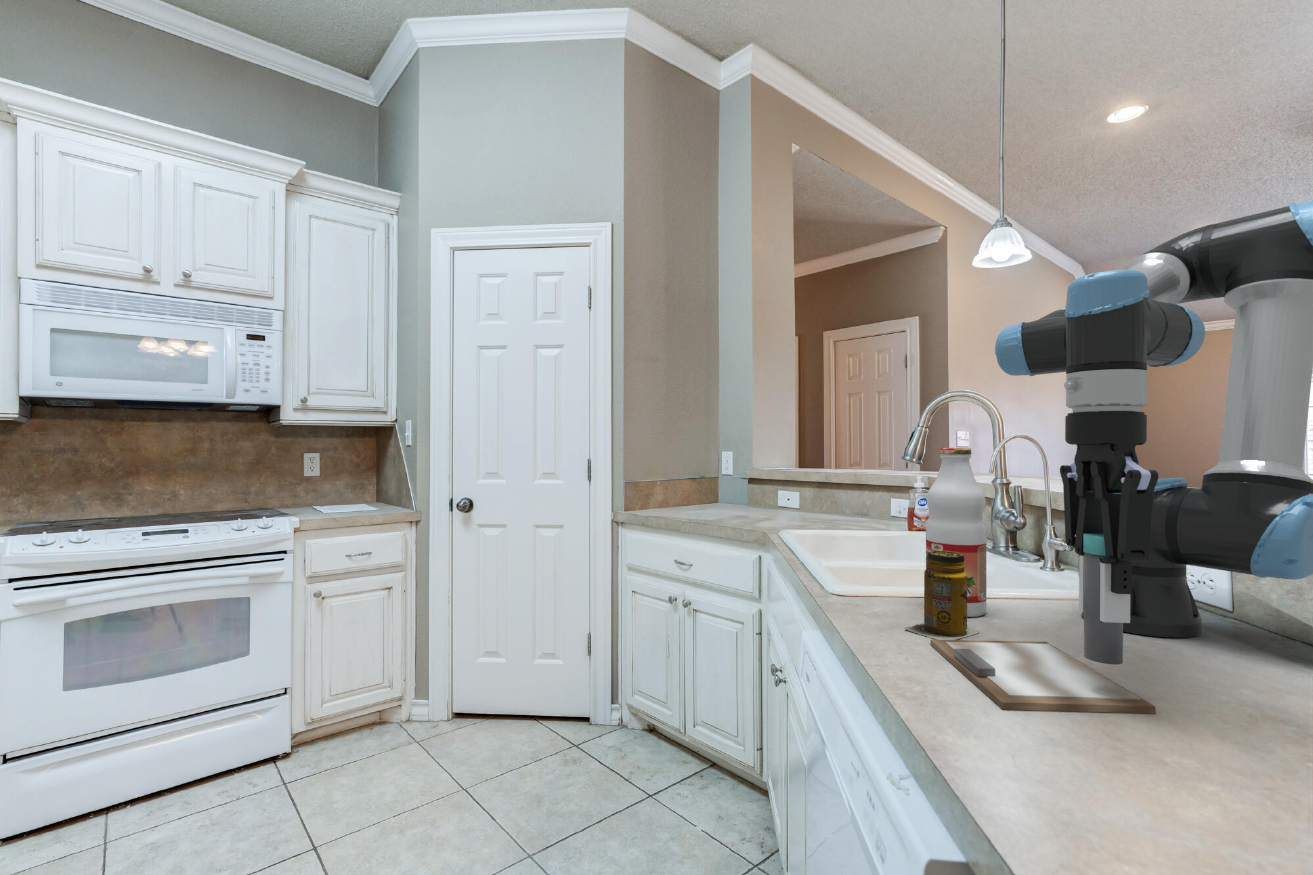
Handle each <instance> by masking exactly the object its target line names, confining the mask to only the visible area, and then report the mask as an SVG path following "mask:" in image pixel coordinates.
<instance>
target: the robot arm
mask: <svg viewBox="0 0 1313 875" xmlns="http://www.w3.org/2000/svg"><path fill="white" fill-rule="evenodd" d="M1220 298H1223V301H1224V302H1223V303H1225V305H1227V306H1228V307H1230V308H1231V309H1232V310H1234V311H1235V316H1234V324H1233V332H1232V333H1233V334H1232V342H1231V352H1230V360H1229V368H1228V376H1227V377H1228V378H1227V385H1226V395H1225V402H1224V403H1225V404H1224V412H1223V419H1222V420H1223V421H1222V429H1221V437H1220V447H1219V455H1218V462H1217V464H1216V465H1215V466H1214V467H1212V468H1209V469H1208V470H1207V471H1205V472H1204V473H1203V475H1202V483H1201V487H1189V483H1188V482H1187V479H1186V478H1185V477H1170V478H1169V477H1167V478H1166V477H1165V478H1159V473H1158V471H1157V470H1155V469H1154V470H1153V469H1145V468H1143V467H1142V466H1140V465H1139V458H1138V455H1137V452H1136V447H1137V446H1142V445H1145V444H1146V442H1147V440H1148V437H1147V436H1148V434H1147V433H1148V430H1147V429H1148V414H1145V411H1141V408H1143V407H1146V406H1147V405H1149V404H1148V403H1149V402H1148V396H1149V395H1148V367H1149V366H1150V367H1152V368H1160V367H1170V366H1176V365H1180V364H1182V363H1185V362H1187V361H1188V360H1190V359H1191V358H1192V357H1194V356H1195V355H1196V354H1197V353H1198V352H1199V350H1200V349H1201V347H1202V345H1203V344H1204V342H1205V337H1206V328H1205V324H1204V321H1203V320H1202V318H1201V317H1200V315H1198V314H1197V313H1196V312H1194V311H1193V310H1191V309H1189V308H1186V307H1185V306H1183V305H1181V304H1184V303H1185V304H1186V303H1190V302H1195V301H1196V302H1197V301H1204V300H1211V299H1212V300H1213V299H1220ZM994 346H995V348H994V354H995V356H996V360H997V364H998V366H999V368H1000V369H1001V370H1002V371H1003V372H1004V373H1005V374H1007V375H1010V376H1013V377H1014V376H1015V377H1019V376H1030V377H1034V376H1038V375H1039V376H1040V375H1049V374H1050V375H1051V374H1058V373H1065V375H1066V379H1065V380H1066V381H1065V382H1064V388H1065V407H1066V408H1068V409H1071V410H1072V412H1069V413H1067V415H1065V417H1064V418H1065V421H1064V422H1065V426H1064V427H1065V428H1064V434H1065V436H1064V440H1065V442H1066V443H1067V444H1068V445H1076V452H1075V455H1074V458H1073V459H1074V461H1073V463H1072V464H1070V465H1068V464H1067V465H1066V464H1065V465H1064V464H1063V465H1062V464H1061V466H1060V467H1059V474H1060V477H1061V478H1060V479H1061V481H1062V489H1063V509H1064V510H1063V511H1064V512H1063V513H1064V532H1065V544H1066V545H1067V547H1073V548H1074V552H1075V553H1076V554H1077V555H1078V612H1081V617H1082V618H1083V619H1084V552H1083V534H1085V533H1100V534H1104V542H1105V553H1106V558H1099V560H1100V621H1103V622H1112V623H1123V633H1124V632H1125V633H1131V634H1134V635H1135V634H1136V635H1143V636H1150V637H1160V638H1161V637H1162V638H1191V637H1197V636H1199V635H1202V633H1203V632H1202V631H1203V630H1202V628H1203V627H1202V623H1203V622H1202V616H1201V613H1200V612H1199V609H1198V606H1197V603H1196V601H1195V598H1194V595H1193V594H1192V591H1191V588H1190V586H1189V584H1188V578H1187V566H1191V567H1197V568H1199V567H1200V568H1206V569H1212V570H1218V571H1225V572H1231V573H1238V574H1244V575H1252V576H1255V577H1257V578H1261V579H1263V578H1264V579H1265V578H1274V579H1275V578H1276V579H1282V580H1294V581H1295V580H1297V581H1298V580H1303V579H1305V578H1308V577H1310V576H1311V575H1312V574H1313V478H1312V477H1310V476H1309V475H1308V474H1306V473H1305V472H1304V469H1303V467H1304V459H1305V458H1304V457H1305V446H1306V437H1307V428H1308V418H1309V407H1310V399H1311V388H1312V377H1313V200H1309V201H1305V202H1304V201H1303V202H1300V203H1290V204H1288V205H1287V206H1284V207H1283V206H1282V207H1280V208H1275V209H1271V210H1267V211H1266V210H1265V211H1263V212H1259V213H1255V214H1250V215H1247V216H1242V217H1239V218H1238V217H1237V218H1234V219H1229V220H1225V221H1222V222H1217V223H1212V224H1208V225H1207V224H1206V225H1203V226H1201V227H1197V228H1195V229H1191V230H1189V231H1186V232H1183V233H1182V234H1179V235H1177V236H1175V237H1172V238H1171V239H1169V240H1167V241H1165V242H1163V243H1161V244H1158V245H1157V246H1155V247H1152V248H1151V249H1150V250H1148V251H1145V252H1144V253H1142V254H1140V255H1138V256H1136V257H1135V258H1133V259H1132V260H1130V261H1129V262H1128V263H1127V264H1126V265H1125V266H1124V267H1123V269H1116V270H1115V269H1114V270H1106V271H1100V272H1094V273H1090V274H1086V275H1085V274H1084V275H1082V276H1080V277H1077V278H1076V279H1073V281H1072V282H1070V283H1069V285H1068V287H1067V292H1066V302H1065V304H1064V305H1062V306H1061V307H1059V308H1057V309H1056V310H1054V311H1051V312H1050V313H1048V314H1046V315H1044V316H1042V317H1040V318H1038V319H1036V320H1033V321H1029V322H1027V321H1023V322H1022V321H1021V322H1020V323H1017V324H1014V325H1012V324H1011V325H1009V326H1006V327H1004V328H1003V329H1001V331H1000V332H999V334H998V335H997V338H996V340H995V344H994Z"/></svg>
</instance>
